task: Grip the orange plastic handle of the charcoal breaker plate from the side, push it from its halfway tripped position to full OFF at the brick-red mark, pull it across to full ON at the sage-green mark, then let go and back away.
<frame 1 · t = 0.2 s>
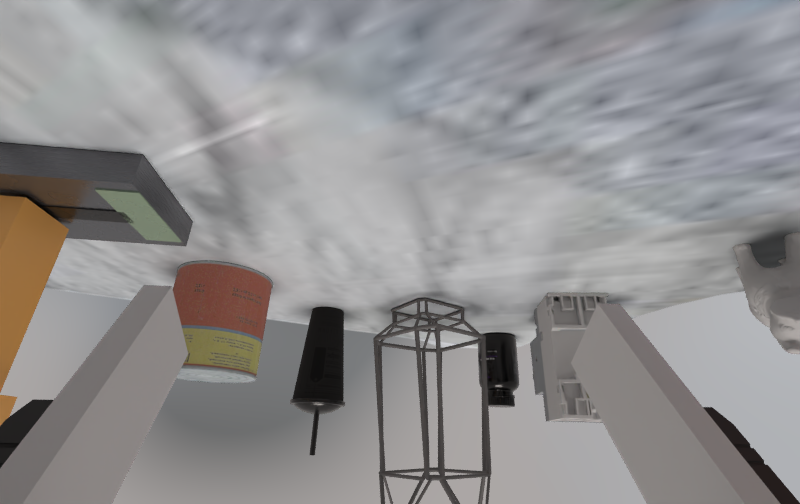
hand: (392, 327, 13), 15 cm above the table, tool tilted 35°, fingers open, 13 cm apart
circuit breaker: (561, 308, 59), on the table
drinking cup: (328, 310, 64), on the table
dog figurine: (763, 247, 40), on the table
canned food: (227, 277, 52), on the table
supplement bottle: (496, 335, 75), on the table
switch plate: (42, 182, 33), on the table
geometric lantern: (434, 308, 61), on the table
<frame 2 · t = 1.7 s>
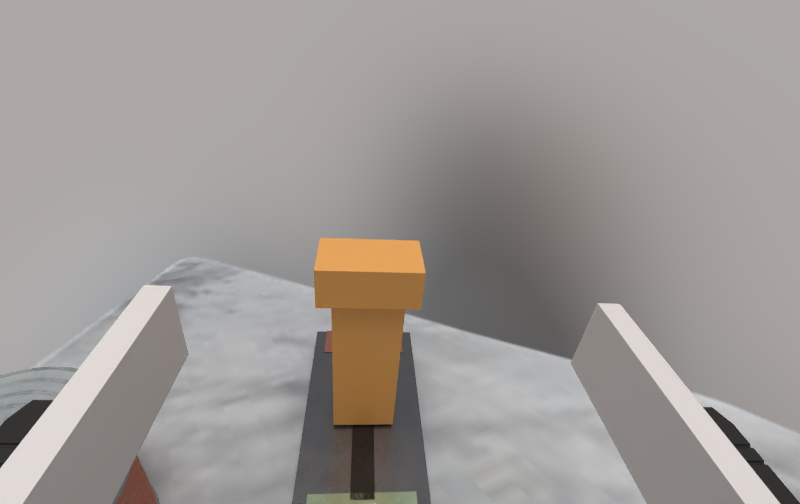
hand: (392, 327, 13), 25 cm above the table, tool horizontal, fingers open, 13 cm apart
switch plate: (362, 428, 37), on the table
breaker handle: (366, 342, 32), point 11 cm above the table, slide at 0.0 cm
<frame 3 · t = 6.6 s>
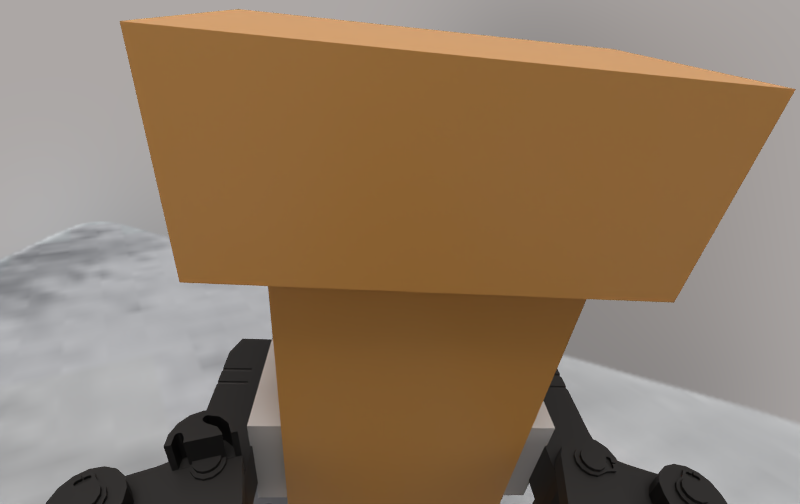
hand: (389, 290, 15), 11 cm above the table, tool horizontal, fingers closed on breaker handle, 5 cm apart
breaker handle: (399, 407, 10), point 11 cm above the table, slide at 0.0 cm, touching gripper
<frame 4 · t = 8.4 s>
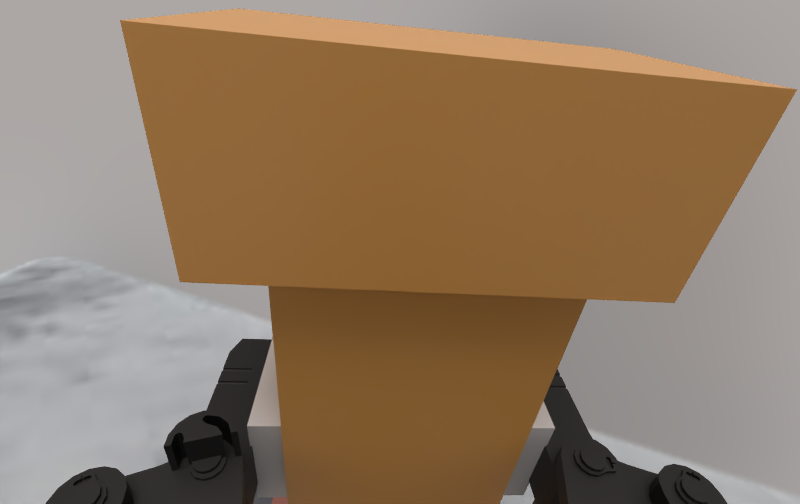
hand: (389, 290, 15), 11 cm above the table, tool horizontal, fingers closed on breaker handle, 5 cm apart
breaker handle: (399, 407, 10), point 11 cm above the table, slide at -6.0 cm, touching gripper
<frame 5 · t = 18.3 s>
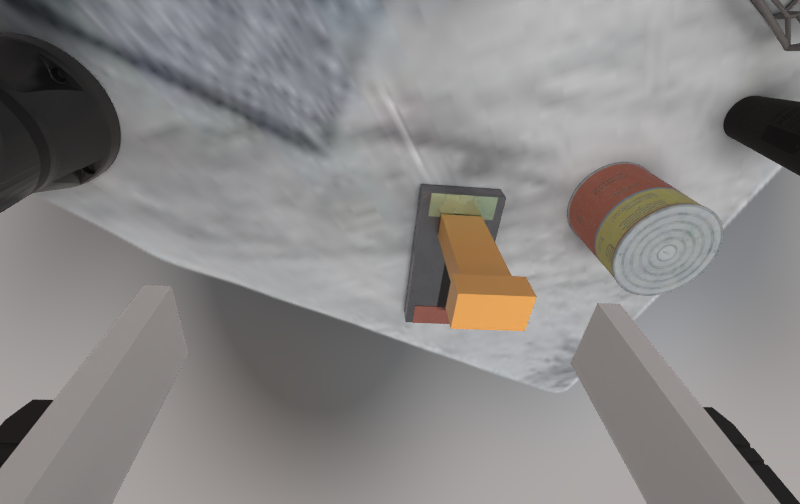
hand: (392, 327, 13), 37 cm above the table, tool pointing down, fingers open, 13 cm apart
drinking cup: (743, 117, 48), on the table
canned food: (609, 203, 53), on the table
switch plate: (448, 255, 56), on the table
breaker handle: (473, 262, 43), point 11 cm above the table, slide at 6.0 cm
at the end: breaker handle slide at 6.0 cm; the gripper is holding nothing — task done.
